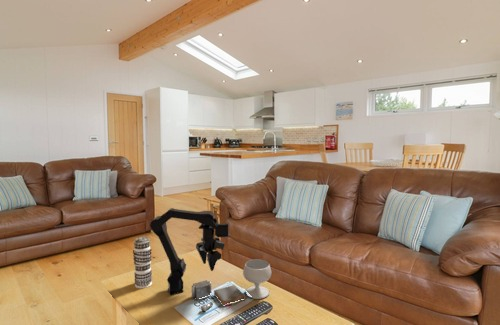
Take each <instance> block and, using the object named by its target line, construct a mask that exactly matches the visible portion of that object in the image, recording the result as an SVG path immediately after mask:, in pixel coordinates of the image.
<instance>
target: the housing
mask: <svg viewBox="0 0 500 325" xmlns="http://www.w3.org/2000/svg"><path fill="white" fill-rule="evenodd" d="M210 293H212V281H211V280H209V281H208V280H202V281H198V282H195V283H192V285H191V300H196V299H199V298H202V297H205V296H208V295H210ZM210 296H211V295H210ZM195 298H196V299H195Z"/></svg>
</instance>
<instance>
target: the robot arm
mask: <svg viewBox="0 0 500 325" xmlns="http://www.w3.org/2000/svg"><path fill="white" fill-rule="evenodd" d="M171 219H179V220H187V221H193V222H197V223H199V226H198V229H199V230H202V237H201V239H200V240H201V242H197V243H196V245H195V249H196V251H197V252H198V254H199V257H200V259H201V261H202V263H203V264H207V263H208V267H209V270H210V271H211V272H213V271H214V269H215V266H216V264H217V261H220V260H221V259H222V256H223V255H222V253H221V252H220V251H219V250H217V249H220V250H222V251H224V249H225V245H226V243H225V242H224V241H221V240H220V238H230V226H229V225H230V224H229V223H228V222H227V223H220V222H219V221H218V219H217V218H216V215H215V213H214V212H213V211H212V210H203V211H202V210H201V211H193V210H184V209H179V208H174V207H173V208H169V209H167V211H166V212H164V213H163V214H162V215H158V216H156V217H154V218H153V219H152V220H151V221H150V223H149V228H150V229H151V231H152V232H153V233H154V235H156V236H157V237H158V239H159V241H160V243H161V246H162V248H163V250H164V252H165V254H166V257H167V259H168V261H169V268H170V269H169V270H170V273H169V276H167V284H168V285H167V286H168V287H167V291H168V293H169V295H170V296H173V295H176V294H182V293H183V292H184V280H183V276H184V274H185V272H186V270H187V267H186V266H187V264H186V262H185V259H184V258H180V257H179V256H178V254H177V252H176V249H175V247H174V245H173V242H172V240H171V238H170V236H169V233H168V230H167V229H168V226H167V223H168V221H169V220H171ZM215 236H216V237H215Z"/></svg>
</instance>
